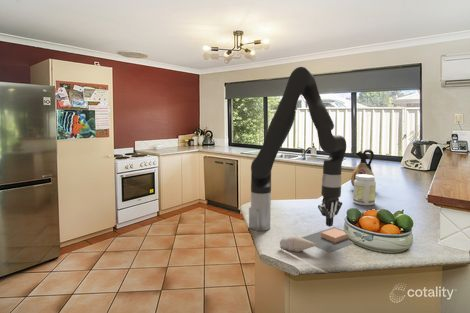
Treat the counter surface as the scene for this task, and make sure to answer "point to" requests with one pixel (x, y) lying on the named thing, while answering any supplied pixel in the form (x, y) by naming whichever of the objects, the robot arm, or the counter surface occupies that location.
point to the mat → (327, 241)
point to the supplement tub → (364, 189)
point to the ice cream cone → (296, 243)
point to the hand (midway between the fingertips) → (329, 225)
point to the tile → (334, 235)
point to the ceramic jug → (363, 165)
